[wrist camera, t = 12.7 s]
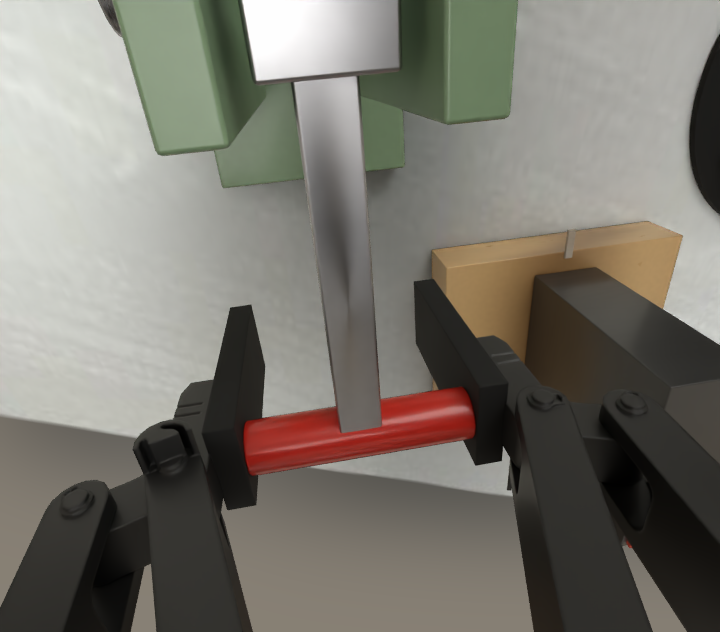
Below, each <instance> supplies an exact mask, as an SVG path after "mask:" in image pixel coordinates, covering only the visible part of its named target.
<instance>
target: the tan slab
mask: <svg viewBox="0 0 720 632" xmlns="http://www.w3.org/2000/svg"><path fill="white" fill-rule="evenodd" d="M682 237H683V236H682V235H680V234H678V233H675V232H673V231H670V230H668V229H666V228H663V227H661V226H658V225H656V224H654V223H651V222H649V221H645V222H638V223H630V224H623V225H615V226H608V227H600V228H593V229H585V230H578V231H576V229H570V230H567V232H563V233H555V234H547V235H540V236H532V237H525V238H517V239H510V240H502V241H495V242H487V243H480V244H472V245H465V246H457V247H450V248H442V249H435V250H432V279H434V280H435V281H436V283H437V284H438V286H439V287H440V288H441V290H442V291H443V293H444V294H445V295H446V297H447V298H448V299H449V301H450V302H451V304H452V305H453V306H454V308H455V309H456V311H457V312H458V313H459V315H460V316H461V317H462V319H463V320H464V322H465V323H466V324H467V326H468V327H469V328H470V330H471V331H472V333H473V334H474V335H475V337H476V338H478V337H484V336H491V335H494V336H496V337H498V338H500V339H502V340H503V341H505V342H507V344H508V345H509V346H510V347H511V348H512V350H513V351H514V354H515V353H516V355H517V356H518V357H519V358H520V361H522V362H523V363H524V364H525V357H526V348H527V339H528V330H529V322H530V313H531V304H532V295H533V286H534V277H535V275H542V274H550V273H557V272H564V271H571V270H578V269H585V268H592V267H597V268H598V269H600V270H602V271H603V272H605V273H606V274H608V275H610V276H611V277H613V278H614V279H616V280H617V281H619V282H621V283H622V284H624V285H625V286H627V287H629V288H630V289H632V290H633V291H635V292H636V293H638V294H640V295H641V296H643V297H644V298H646V299H647V300H649V301H651V302H652V303H654V304H655V305H657V306H659V307H660V308H662V309H663V307H664V303H665V300H666V296H667V292H668V289H669V285H670V281H671V278H672V274H673V270H674V267H675V263H676V259H677V256H678V252H679V248H680V245H681V241H682ZM434 390H439V389H438V387H437V385H436V383H435V381H434V379H433V391H434Z"/></svg>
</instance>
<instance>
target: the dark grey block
mask: <svg viewBox="0 0 720 632" xmlns="http://www.w3.org/2000/svg"><path fill="white" fill-rule="evenodd" d="M525 365H526V367H527V368H528V369H529V370H530V372H531V373H532V374H533V375H534V376H535V378H536V379H537V380H538V381H539V382H540V384H541V385H542V386H548V387H551V388H553V389H556V390H558V391H560V392H561V393H563V394H564V395H565V396H566V397H567V399H568V400H569V402H576V403H588V404H602V400H603V396H604V395H605V394H606V393H607V392H609V391H613V390H616V389H627V390H632V391H636V392H640V393H642V394H644V395H647V396H649V397H650V398H652V399H653V400H655V401H656V402H657V403H658V404H659V405H660V406H661V407H662V408H663V409H664V410H665V411H666V412H667V413H668V414H669V415H670V416H671V417H672V418H673V419H674V420H675V421H676V422H678V423H679V424H680V425H681V426H682V427H683V428H684V429H685V430H686V431H687V432H688V433H689V434H690V435H691V436H692V437H693V438H694V439H695V440H696V441H697V442H698V443H699V444H700V445H701V446H702V447H703V448H704V449H705V450H706V451H707V452H708V453H709V454H710V455H711V456H712V457H713V458H714V459H715V460H716V461H717V462H718V463H719V464H720V345H719V344H717V343H715V342H714V341H712V340H711V339H709V338H708V337H706V336H704V335H703V334H701V333H700V332H698V331H696V330H695V329H693V328H692V327H690V326H689V325H687V324H685V323H684V322H682V321H681V320H679V319H678V318H676V317H674V316H673V315H671V314H670V313H668V312H666V311H665V310H663V309H662V308H660V307H659V306H657V305H655V304H654V303H652V302H651V301H649V300H647V299H646V298H644V297H643V296H641V295H640V294H638V293H636V292H635V291H633V290H632V289H630V288H629V287H627V286H625V285H624V284H622V283H621V282H619V281H617V280H616V279H614V278H613V277H611V276H610V275H608V274H606V273H605V272H603V271H602V270H600V269H598V268H597V267H592V268H585V269H578V270H571V271H564V272H557V273H550V274H542V275H535V277H534V286H533V295H532V304H531V313H530V322H529V330H528V339H527V348H526V357H525ZM610 515H611V514H610ZM611 517H612V516H611ZM612 520H613V523H614V526H615V529H616V531H617V534H618V537H619V540H620V542H621V545H622V546H625V545H628V547H629V548H632V547H631V545H630V543H629V542H628V540H627V539H626V537H625V536H624V534H623V533H622V531H621V530H620V528H619V527H618V525H617V524H616V522H615V521H614V519H613V517H612Z"/></svg>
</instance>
